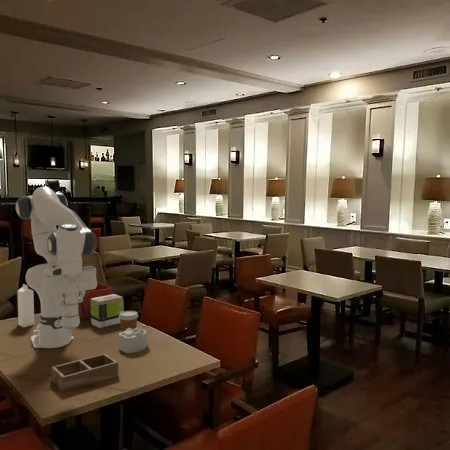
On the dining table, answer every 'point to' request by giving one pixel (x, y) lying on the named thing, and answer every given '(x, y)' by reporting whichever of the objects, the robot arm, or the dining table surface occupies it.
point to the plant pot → (85, 306)
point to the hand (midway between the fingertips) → (70, 303)
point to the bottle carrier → (84, 372)
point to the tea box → (106, 310)
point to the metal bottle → (70, 306)
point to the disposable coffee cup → (128, 320)
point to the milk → (25, 306)
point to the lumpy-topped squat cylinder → (132, 340)
